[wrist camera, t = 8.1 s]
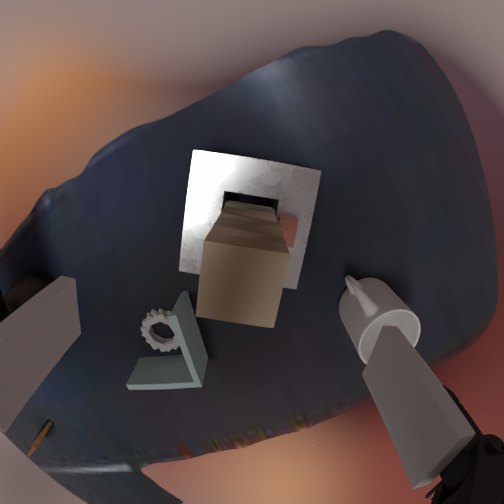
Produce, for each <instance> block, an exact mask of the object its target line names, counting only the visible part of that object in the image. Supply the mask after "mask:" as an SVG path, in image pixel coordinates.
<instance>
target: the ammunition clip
mask: <svg viewBox="0 0 504 504" xmlns="http://www.w3.org/2000/svg"><path fill="white" fill-rule="evenodd" d="M53 424H54V423H52V422H51V421H50V420H49V419H48V420H47V422H46V423H45V424H44V426H43V427H42V428H41V430H40V431H39V433H38V435H37V436H36V438H35V439H34V442H33V444H32V445H31V448H30V450H29V452H28V454H27V458H29V457H30V456H31V455H32V454H33V453H34V451H35V450H36V449H37V448H38V446H39V445H40V444H41V443H42V441H43V440H44V438H45V437H46V436H47V434H48V432H49V431H50V429H51V427H52V426H53Z"/></svg>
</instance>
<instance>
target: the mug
mask: <svg viewBox="0 0 504 504" xmlns="http://www.w3.org/2000/svg"><path fill="white" fill-rule="evenodd" d="M345 281H346V284H347V287H348V288H347V289H346V290H345V291H344V293H343V295H342V296H341V299H340V302H339V314H340V317H341V320H342V322H343V324H344V326H345V328H346V330H347V332H348V334H349V336H350V338H351V340H352V342H353V344H354V346H355V348H356V350H357V352H358V354H359V356H360V358H361V359H362V361H363V362H364V363H365V364H367V362H368V360H369V358H370V356H371V353H372V351H373V348H374V346H375V344H376V341H377V339H378V336H379V334H380V331H381V329H382V326H383V325H385V326H397V327H398V328H399V329H400V331H401V332H402V333H403V334H404V336H405V337H406V338H407V339H408V341H409V342H410V343H411V345H412V346H413V347H415V345H416V344H417V341H418V339H419V336H420V322H419V319H418V318H417V316H416V315H415V314H414V313H413V312H412V311H411V310H410V308H409V307H408V306H407V305H406V304H405V303H404V302H403V301H402V300H401V299H400V298H399V297H398V296H397V295H396V294H395V293H394V292H393V291H392V290H391V289H390V288H389V287H388V285H386V284H385V283H384V282H383V281H381V280H379V279H376V278H363V279H360V280H355V279H354V278H353V277H351V276H349V275H347V276H346V277H345Z"/></svg>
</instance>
